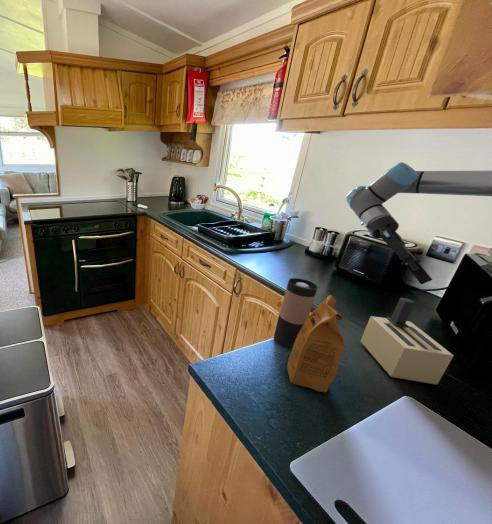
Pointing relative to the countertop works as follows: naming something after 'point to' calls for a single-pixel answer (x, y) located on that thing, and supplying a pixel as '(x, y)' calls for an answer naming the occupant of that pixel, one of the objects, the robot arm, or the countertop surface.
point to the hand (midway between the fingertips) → (426, 281)
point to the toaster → (405, 351)
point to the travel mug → (294, 311)
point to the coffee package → (317, 349)
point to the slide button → (401, 312)
